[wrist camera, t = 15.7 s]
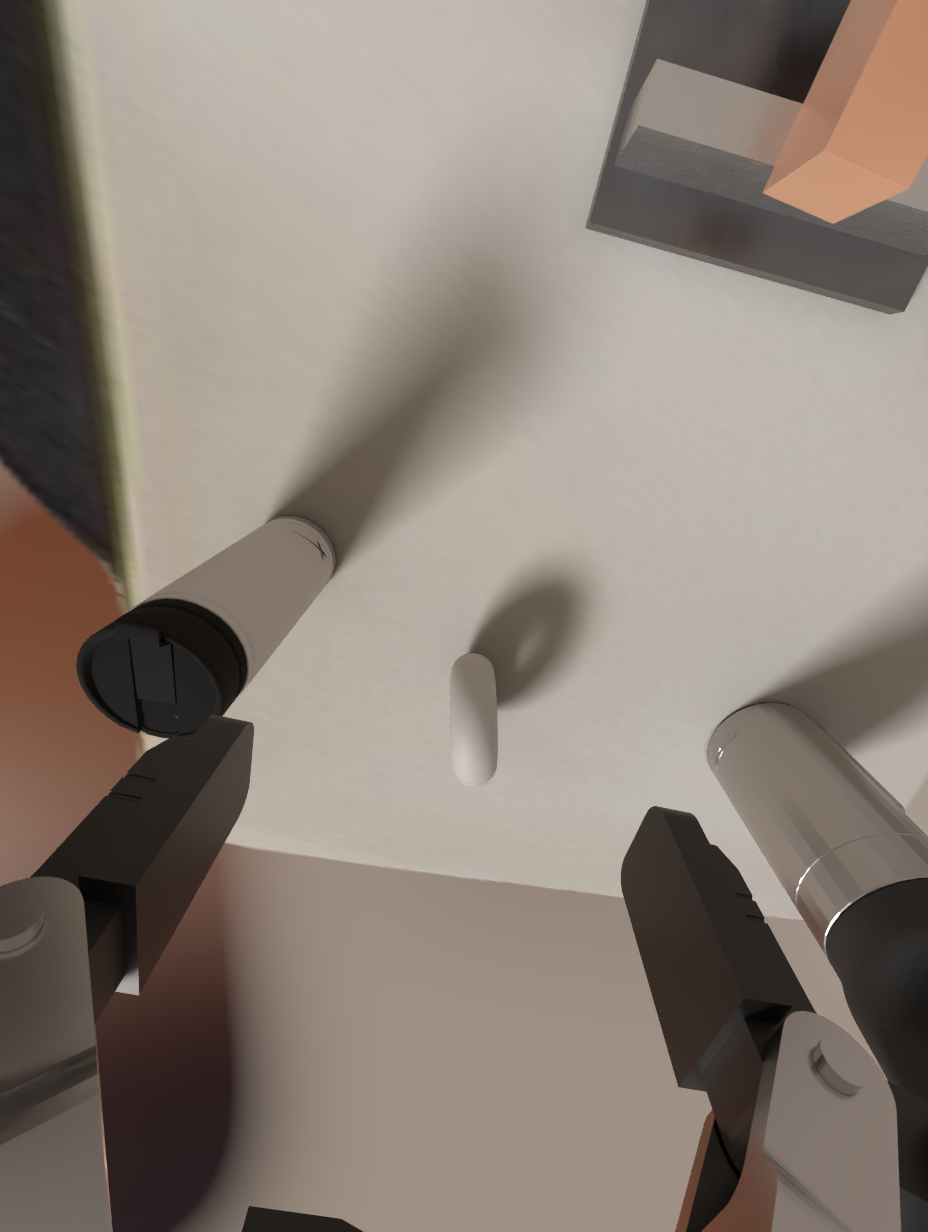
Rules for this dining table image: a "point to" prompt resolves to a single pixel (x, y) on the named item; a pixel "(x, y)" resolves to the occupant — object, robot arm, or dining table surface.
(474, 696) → the donut
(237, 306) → the dining table surface
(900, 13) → the clay strip
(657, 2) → the aluminium rail channel
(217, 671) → the travel mug
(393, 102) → the dining table surface
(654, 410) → the dining table surface
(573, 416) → the dining table surface
